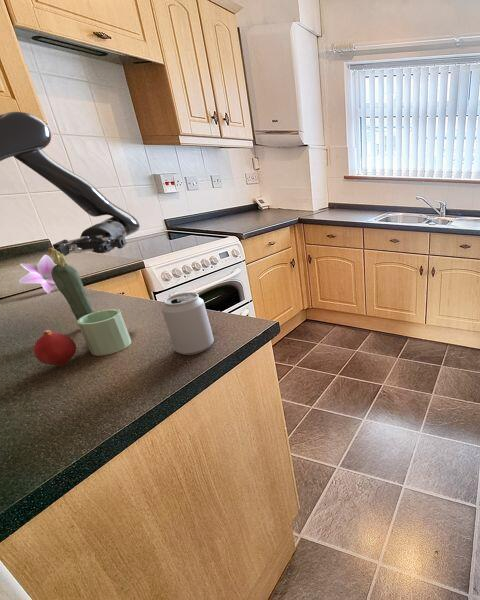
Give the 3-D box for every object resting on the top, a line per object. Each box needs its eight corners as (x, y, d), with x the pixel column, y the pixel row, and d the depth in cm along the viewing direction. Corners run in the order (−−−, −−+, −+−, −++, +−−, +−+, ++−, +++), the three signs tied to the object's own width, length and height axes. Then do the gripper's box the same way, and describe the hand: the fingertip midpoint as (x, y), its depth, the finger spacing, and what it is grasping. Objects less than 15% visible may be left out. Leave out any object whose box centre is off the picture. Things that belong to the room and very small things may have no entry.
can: (173, 346, 74) (156, 296, 69) (210, 335, 78) (197, 287, 73) (179, 361, 68) (161, 308, 64) (218, 348, 73) (205, 297, 68)
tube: (85, 358, 70) (71, 326, 66) (97, 342, 75) (84, 312, 72) (126, 351, 72) (114, 320, 69) (135, 336, 78) (124, 307, 75)
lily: (18, 302, 99) (19, 276, 95) (15, 278, 104) (16, 252, 100) (74, 301, 108) (78, 277, 104) (69, 279, 114) (72, 256, 110)
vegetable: (103, 326, 83) (71, 246, 75) (82, 334, 79) (45, 251, 71) (93, 322, 84) (60, 244, 76) (72, 330, 81) (35, 249, 73)
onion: (39, 367, 67) (20, 332, 64) (76, 354, 71) (61, 320, 68) (48, 377, 64) (29, 341, 61) (86, 362, 68) (70, 328, 65)
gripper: (66, 226, 94) (38, 239, 81) (128, 222, 100) (110, 233, 86) (77, 252, 98) (51, 268, 84) (136, 246, 103) (120, 261, 89)
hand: (81, 250), depth 85 cm, fingers open, 8 cm apart
